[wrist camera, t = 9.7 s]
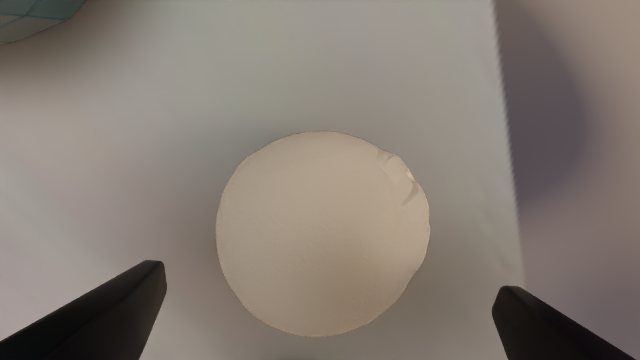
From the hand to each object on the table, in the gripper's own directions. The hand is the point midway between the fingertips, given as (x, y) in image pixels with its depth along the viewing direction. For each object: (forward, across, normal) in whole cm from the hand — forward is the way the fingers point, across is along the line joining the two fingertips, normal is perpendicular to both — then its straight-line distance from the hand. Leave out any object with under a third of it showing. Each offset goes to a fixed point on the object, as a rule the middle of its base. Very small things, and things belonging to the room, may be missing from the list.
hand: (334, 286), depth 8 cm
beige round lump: (+7, 0, 0) cm, 7 cm away
